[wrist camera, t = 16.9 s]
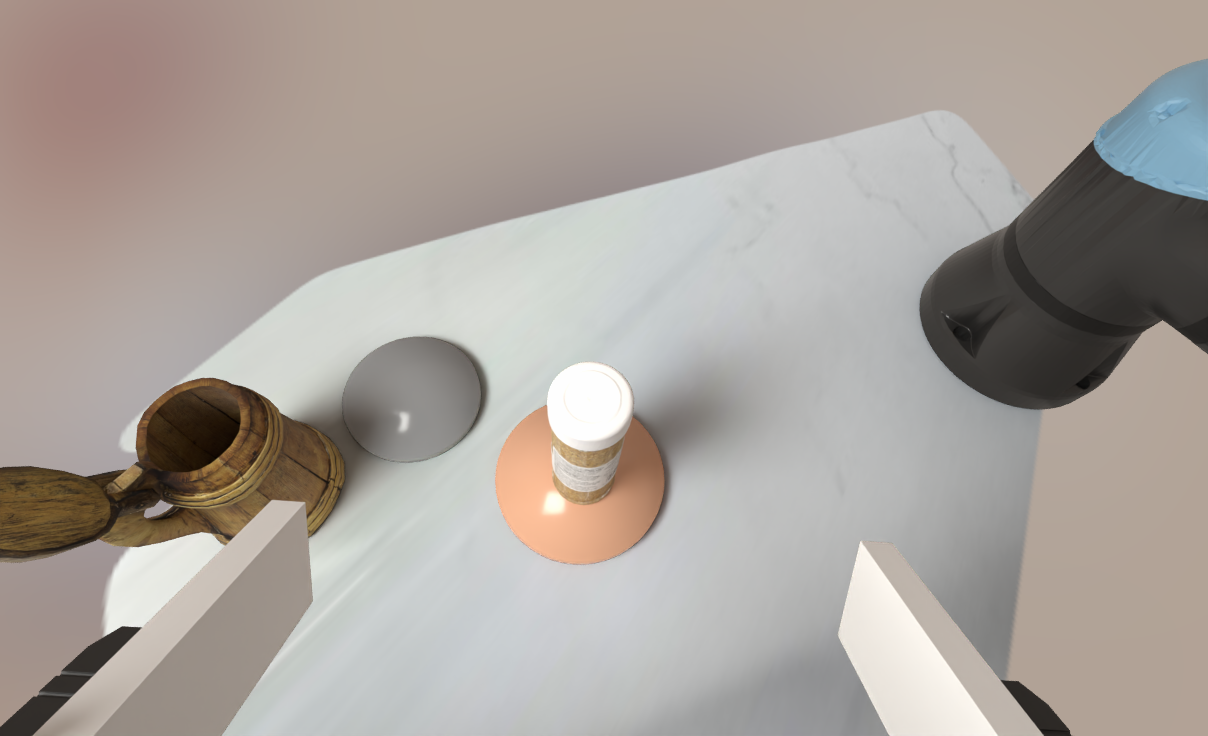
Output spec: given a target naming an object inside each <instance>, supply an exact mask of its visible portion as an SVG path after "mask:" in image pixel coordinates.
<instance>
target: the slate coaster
mask: <svg viewBox="0 0 1208 736" xmlns="http://www.w3.org/2000/svg"><path fill="white" fill-rule="evenodd" d="M480 404H481V387H480V383H479V379H478V375H477V373H476V370H475V368H474V366H473V364H472V363H471V361H470V360H469V359H468V357H467V356H466V355H465V354H464V353H463V352H462V351H460V350H459V349H458V348H456V347H455V346H453V345H451V344H449V343H447V342H445V341H442V340H439V339H435V338H429V337H408V338H403V339H398V340H395V341H392V342H389V343H387V344H385V345H382V346H381V347H379V348H377V349H375V350H374V351H373V352H371V353H370V354H368V355H367V356H366V357H365V358H364V359H363V360H362V361H361V362H360V363H359V364H358V365H357V366H356V368H355V369H354V370H353V372H352V373H351V375H350V377H349V379H348V381H347V383H346V386H345V389H344V393H343V399H342V410H343V416H344V420H345V423H346V425H347V428H348V430H349V431H350V433H351V434H352V436H353V437H354V438H355V439H356V441H357V442H358V443H359V444H360V445H361V446H362V447H363V448H364V449H366V450H367V451H368V452H370V453H372V454H373V455H375V456H377V457H380V458H382V459H385V460H389V461H393V462H418V461H423V460H427V459H430V458H433V457H436V456H438V455H440V454H442V453H444V452H446V451H448V450H449V449H451V448H452V447H454V446H455V445H456V444H457V443H458V442H459V441H461V440H462V438H463V437H464V436H465V435H466V434H467V433H468V431H469V430H470V429H471V427H472V425H473V424H474V422H475V420H476V418H477V415H478V412H479V408H480Z"/></svg>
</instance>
